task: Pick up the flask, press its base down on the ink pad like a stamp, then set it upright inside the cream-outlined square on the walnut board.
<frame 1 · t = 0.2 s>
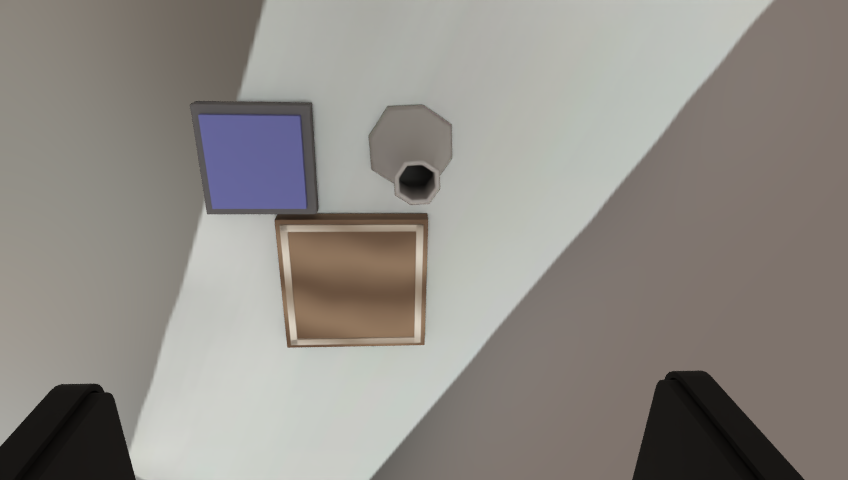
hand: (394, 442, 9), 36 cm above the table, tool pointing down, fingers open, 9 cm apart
marked board: (355, 278, 48), on the table
ink pad: (260, 157, 43), on the table
flask: (410, 145, 43), on the table
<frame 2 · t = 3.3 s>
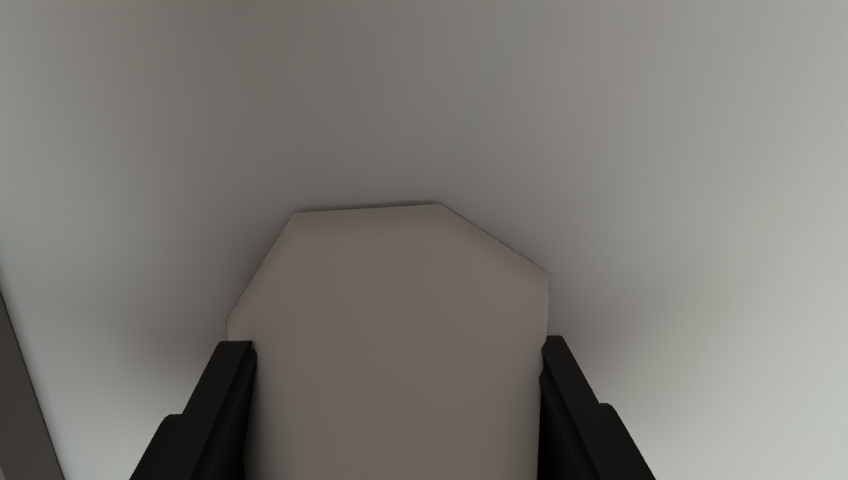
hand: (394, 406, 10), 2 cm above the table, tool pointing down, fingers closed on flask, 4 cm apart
flask: (392, 340, 12), on the table, touching gripper
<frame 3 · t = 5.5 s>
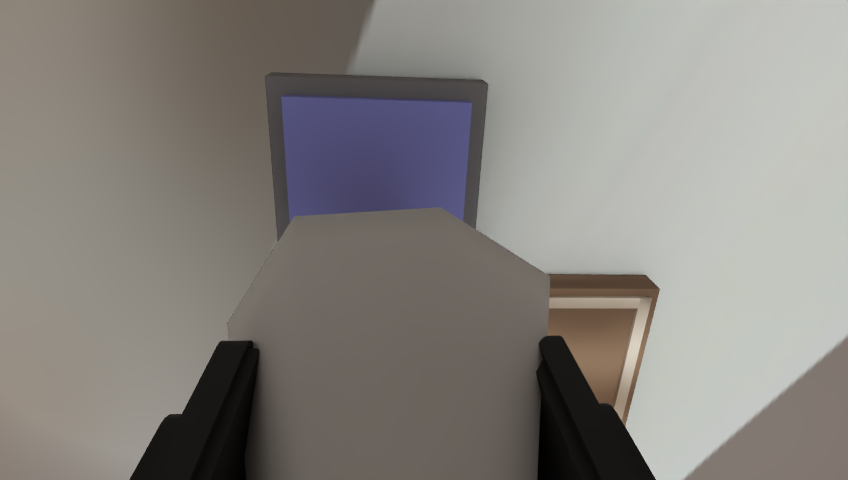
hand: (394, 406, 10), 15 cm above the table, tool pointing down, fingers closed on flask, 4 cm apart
marked board: (510, 377, 29), on the table
ink pad: (378, 177, 24), on the table
flask: (393, 343, 12), point 13 cm above the table, touching gripper
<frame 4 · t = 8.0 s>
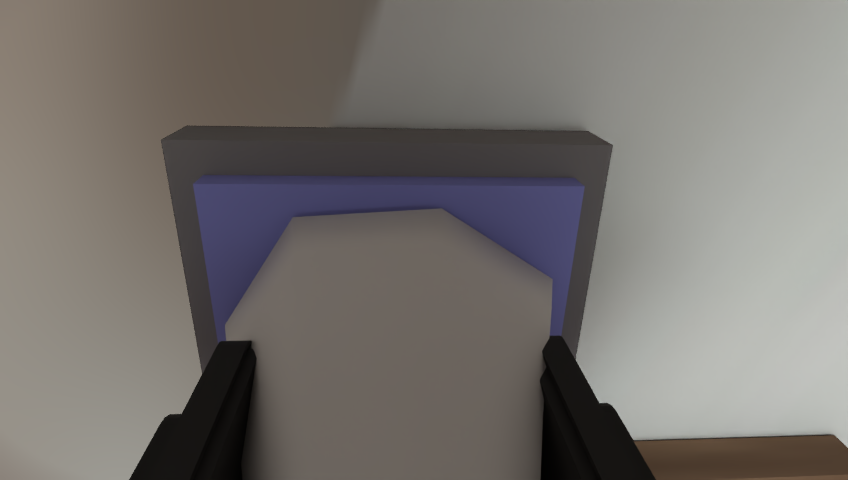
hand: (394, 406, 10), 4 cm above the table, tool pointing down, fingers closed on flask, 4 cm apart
ink pad: (392, 302, 13), on the table
flask: (393, 345, 12), point 2 cm above the table, touching gripper, ink pad
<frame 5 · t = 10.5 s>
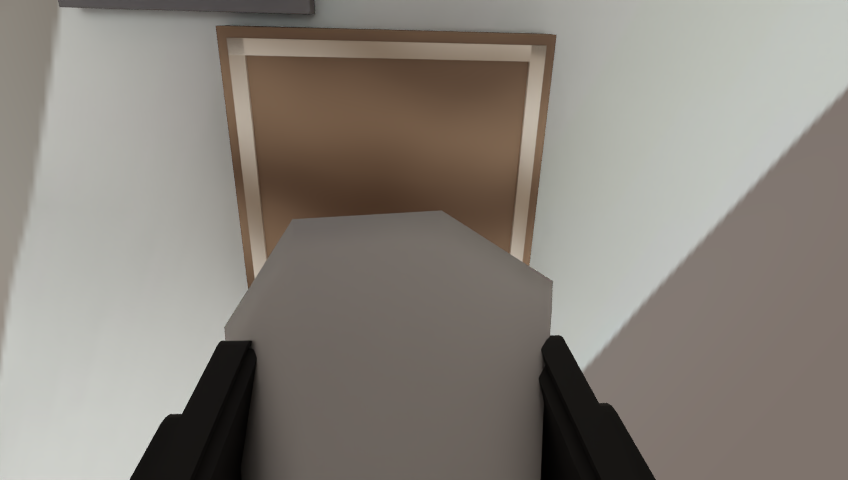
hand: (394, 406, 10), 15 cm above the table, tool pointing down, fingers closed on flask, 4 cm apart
marked board: (389, 182, 24), on the table
flask: (393, 347, 12), point 13 cm above the table, touching gripper
when the fingers open (4 cm above the table, at t = 12.8 s): flask stays where it is, resting on marked board.
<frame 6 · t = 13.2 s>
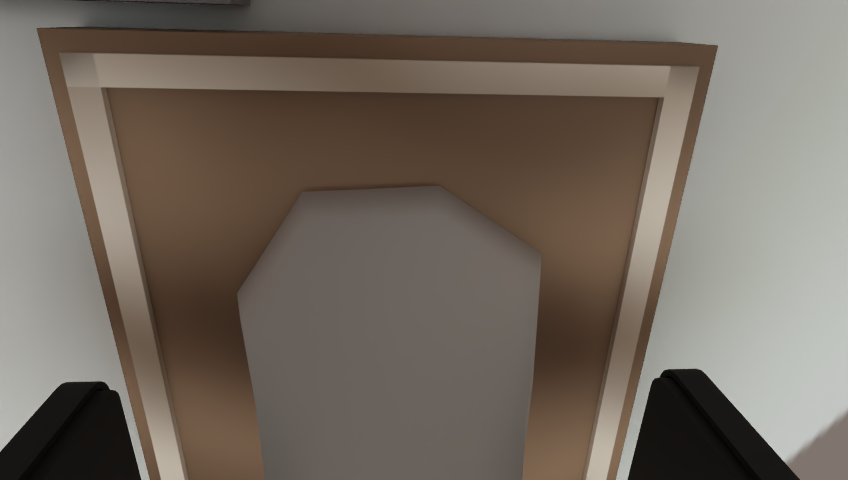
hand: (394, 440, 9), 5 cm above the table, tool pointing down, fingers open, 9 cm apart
marked board: (392, 295, 14), on the table
flask: (393, 316, 13), point 1 cm above the table, touching marked board
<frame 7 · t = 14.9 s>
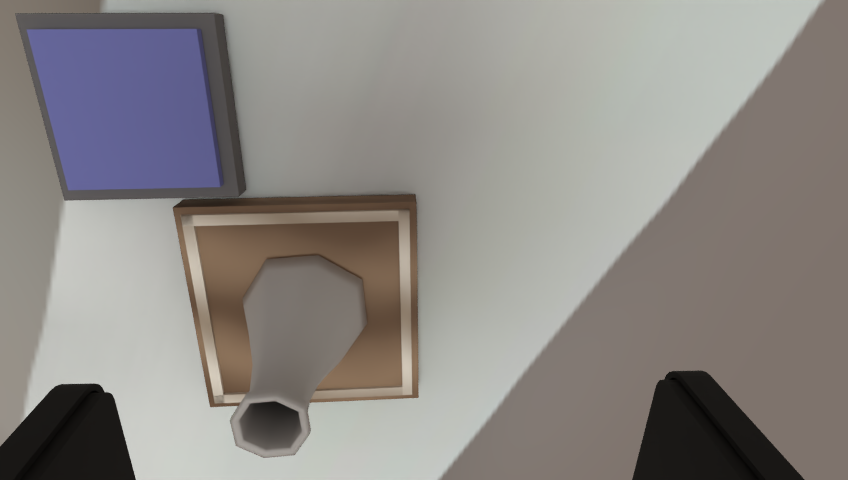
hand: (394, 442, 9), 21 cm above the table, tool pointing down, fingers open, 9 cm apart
marked board: (310, 299, 32), on the table
ink pad: (147, 108, 27), on the table
flask: (307, 307, 30), point 1 cm above the table, touching marked board
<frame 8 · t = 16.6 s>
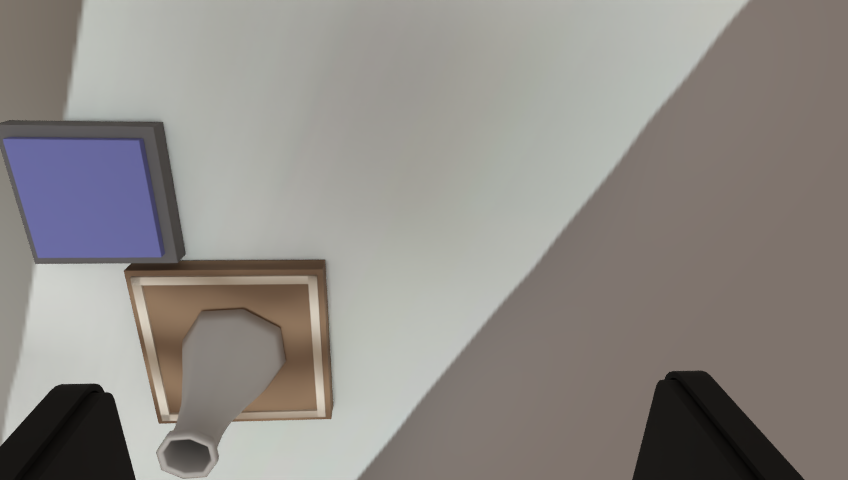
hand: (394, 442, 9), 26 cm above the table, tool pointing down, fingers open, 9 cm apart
marked board: (241, 338, 38), on the table
ink pad: (102, 191, 33), on the table
flask: (236, 347, 37), point 1 cm above the table, touching marked board
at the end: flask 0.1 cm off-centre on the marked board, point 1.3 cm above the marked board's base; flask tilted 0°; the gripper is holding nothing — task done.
